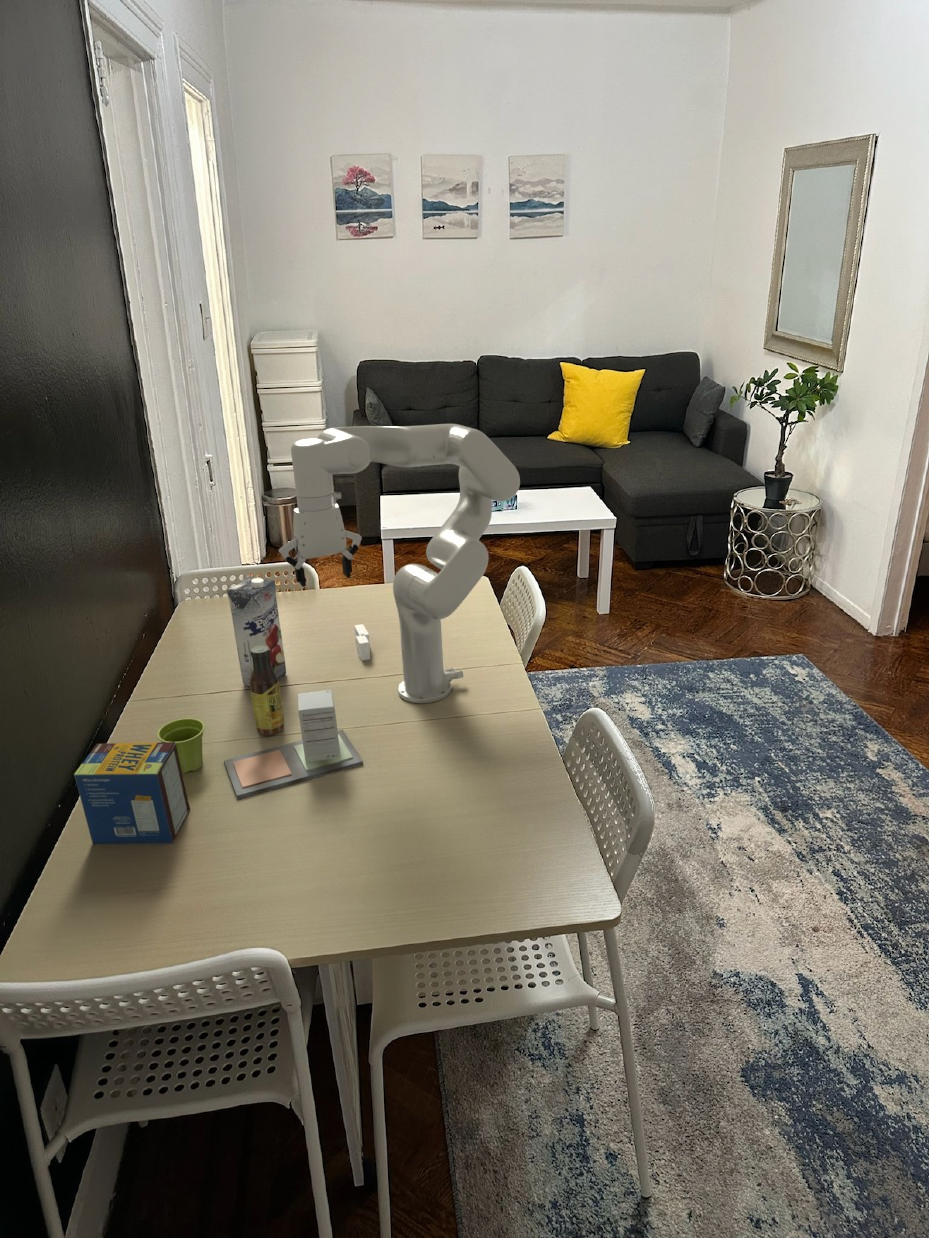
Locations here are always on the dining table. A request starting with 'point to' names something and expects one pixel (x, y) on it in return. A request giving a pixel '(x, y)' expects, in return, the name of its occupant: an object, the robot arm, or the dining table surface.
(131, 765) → the protein box
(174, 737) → the plant pot
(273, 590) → the juice carton
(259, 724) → the sauce bottle
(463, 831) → the dining table surface
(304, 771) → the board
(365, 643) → the napkin holder
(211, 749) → the dining table surface
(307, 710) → the supplement box
